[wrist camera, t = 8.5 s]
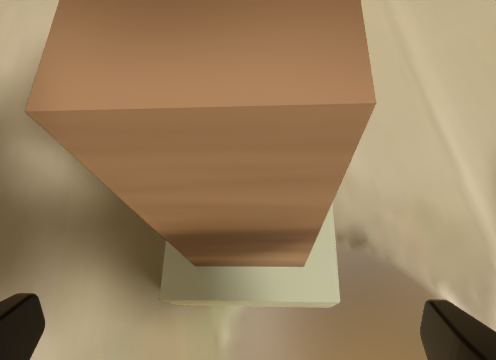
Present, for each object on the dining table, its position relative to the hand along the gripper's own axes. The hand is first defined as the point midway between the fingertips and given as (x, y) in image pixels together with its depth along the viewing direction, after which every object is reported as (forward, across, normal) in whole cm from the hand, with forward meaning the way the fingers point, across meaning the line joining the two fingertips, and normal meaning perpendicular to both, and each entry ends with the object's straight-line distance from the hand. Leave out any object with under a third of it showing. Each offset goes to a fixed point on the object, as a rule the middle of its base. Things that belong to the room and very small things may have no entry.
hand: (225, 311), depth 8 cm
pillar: (+9, 0, +2) cm, 9 cm away
